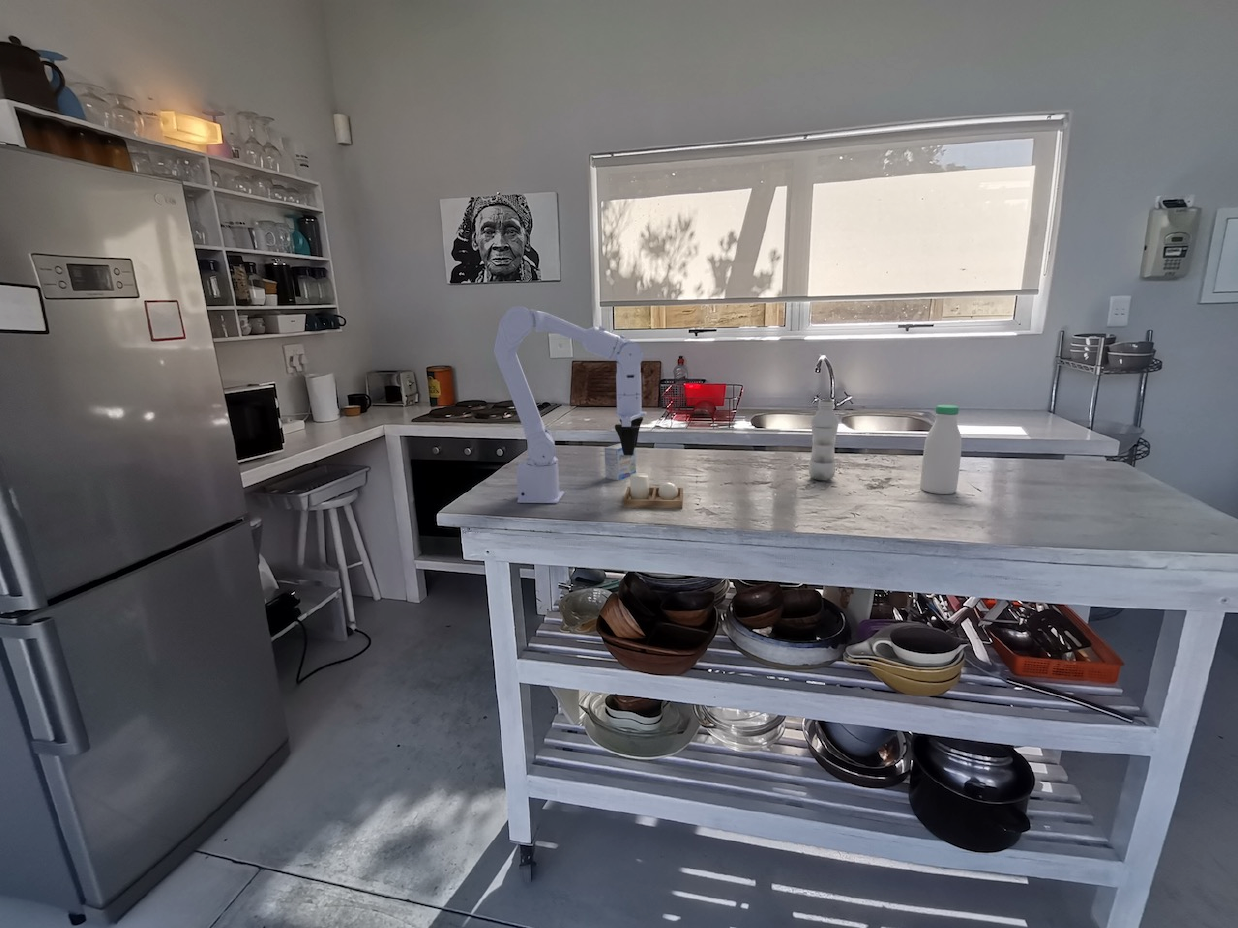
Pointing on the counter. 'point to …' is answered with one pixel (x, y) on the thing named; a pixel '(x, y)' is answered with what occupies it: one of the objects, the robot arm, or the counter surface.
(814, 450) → the plastic bottle
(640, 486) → the white rounded block
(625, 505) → the caddy
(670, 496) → the ceramic egg
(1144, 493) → the counter surface
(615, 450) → the medicine box
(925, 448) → the milk bottle
